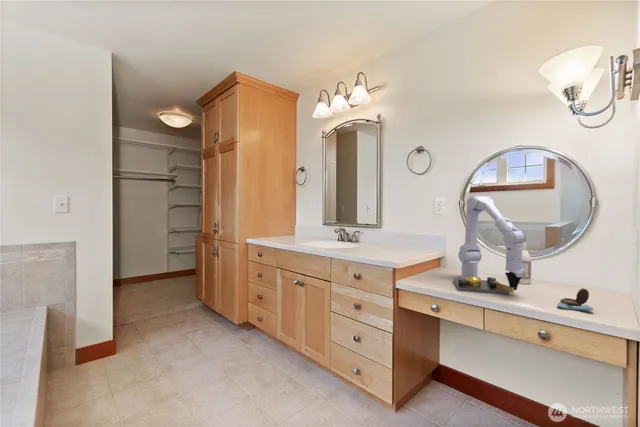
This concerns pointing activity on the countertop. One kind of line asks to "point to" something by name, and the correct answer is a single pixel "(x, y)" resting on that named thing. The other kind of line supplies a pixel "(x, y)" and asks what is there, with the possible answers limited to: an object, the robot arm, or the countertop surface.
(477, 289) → the plate
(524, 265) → the bath foam
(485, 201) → the robot arm
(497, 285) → the wooden stick
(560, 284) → the countertop surface
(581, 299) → the compass
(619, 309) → the countertop surface
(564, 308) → the bow tie
